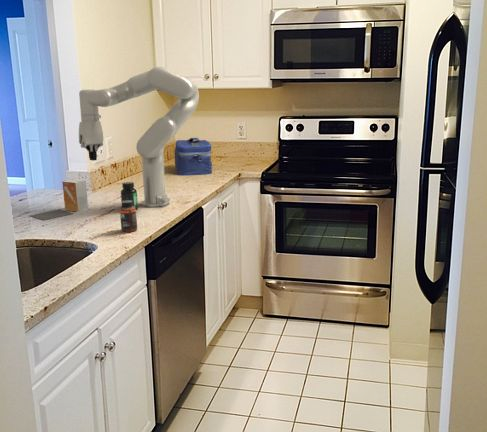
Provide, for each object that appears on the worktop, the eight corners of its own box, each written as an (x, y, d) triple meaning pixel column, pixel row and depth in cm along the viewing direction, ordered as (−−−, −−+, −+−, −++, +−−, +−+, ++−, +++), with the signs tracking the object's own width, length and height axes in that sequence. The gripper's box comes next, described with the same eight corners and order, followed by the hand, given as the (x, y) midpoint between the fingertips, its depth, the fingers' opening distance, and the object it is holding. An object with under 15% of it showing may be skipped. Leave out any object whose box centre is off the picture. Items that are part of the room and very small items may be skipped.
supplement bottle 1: (140, 210, 242) (138, 183, 239) (125, 212, 239) (122, 185, 236) (135, 207, 248) (133, 180, 245) (120, 209, 244) (117, 182, 241)
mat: (73, 213, 239) (73, 213, 239) (43, 220, 229) (43, 219, 229) (59, 209, 247) (59, 209, 247) (29, 216, 237) (29, 215, 237)
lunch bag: (215, 175, 323) (214, 139, 318) (179, 177, 318) (177, 141, 313) (207, 166, 352) (205, 134, 347) (173, 168, 348) (171, 135, 343)
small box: (64, 210, 246) (61, 181, 242) (75, 207, 251) (72, 178, 248) (78, 212, 242) (75, 182, 239) (88, 209, 247) (86, 180, 244)
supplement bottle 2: (138, 228, 214) (136, 199, 211) (136, 232, 208) (133, 202, 205) (122, 228, 214) (120, 199, 211) (120, 232, 208) (117, 203, 205)
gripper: (99, 117, 252) (102, 157, 257) (70, 119, 242) (73, 161, 246) (109, 117, 247) (112, 159, 252) (79, 120, 237) (83, 163, 241)
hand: (93, 160), depth 249 cm, fingers closed
